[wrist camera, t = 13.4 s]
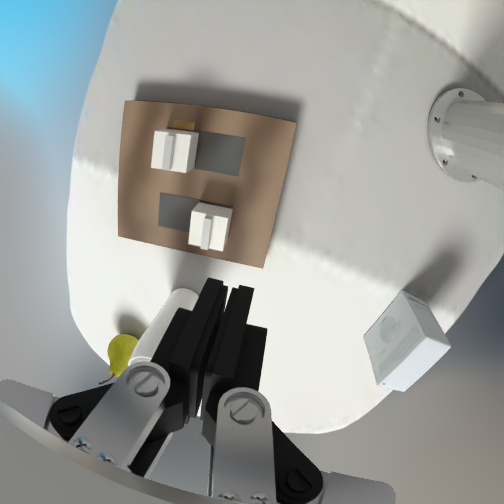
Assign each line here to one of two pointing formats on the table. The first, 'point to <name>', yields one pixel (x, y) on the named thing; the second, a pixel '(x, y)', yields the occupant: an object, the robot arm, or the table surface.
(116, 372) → the fruit
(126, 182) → the switch board
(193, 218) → the tab
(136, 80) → the table surface
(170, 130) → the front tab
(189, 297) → the drinking glass
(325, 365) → the table surface
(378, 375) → the skincare box
